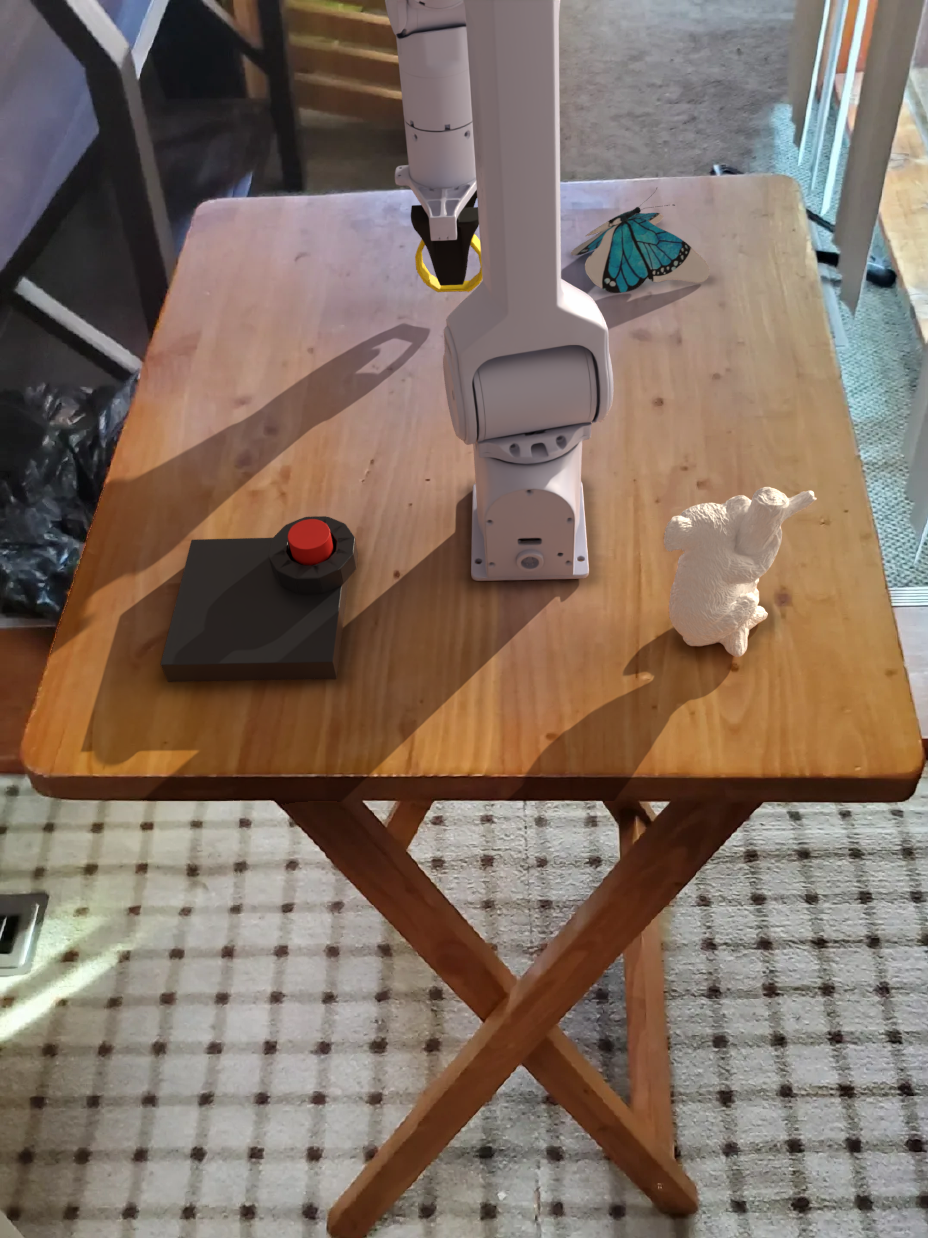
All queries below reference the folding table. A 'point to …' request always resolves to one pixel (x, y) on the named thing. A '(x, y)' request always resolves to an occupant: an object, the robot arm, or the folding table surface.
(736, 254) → the folding table surface
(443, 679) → the folding table surface
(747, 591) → the koala figurine
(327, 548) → the button
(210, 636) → the black red button box
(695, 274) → the decorative butterfly
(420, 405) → the folding table surface
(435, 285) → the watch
